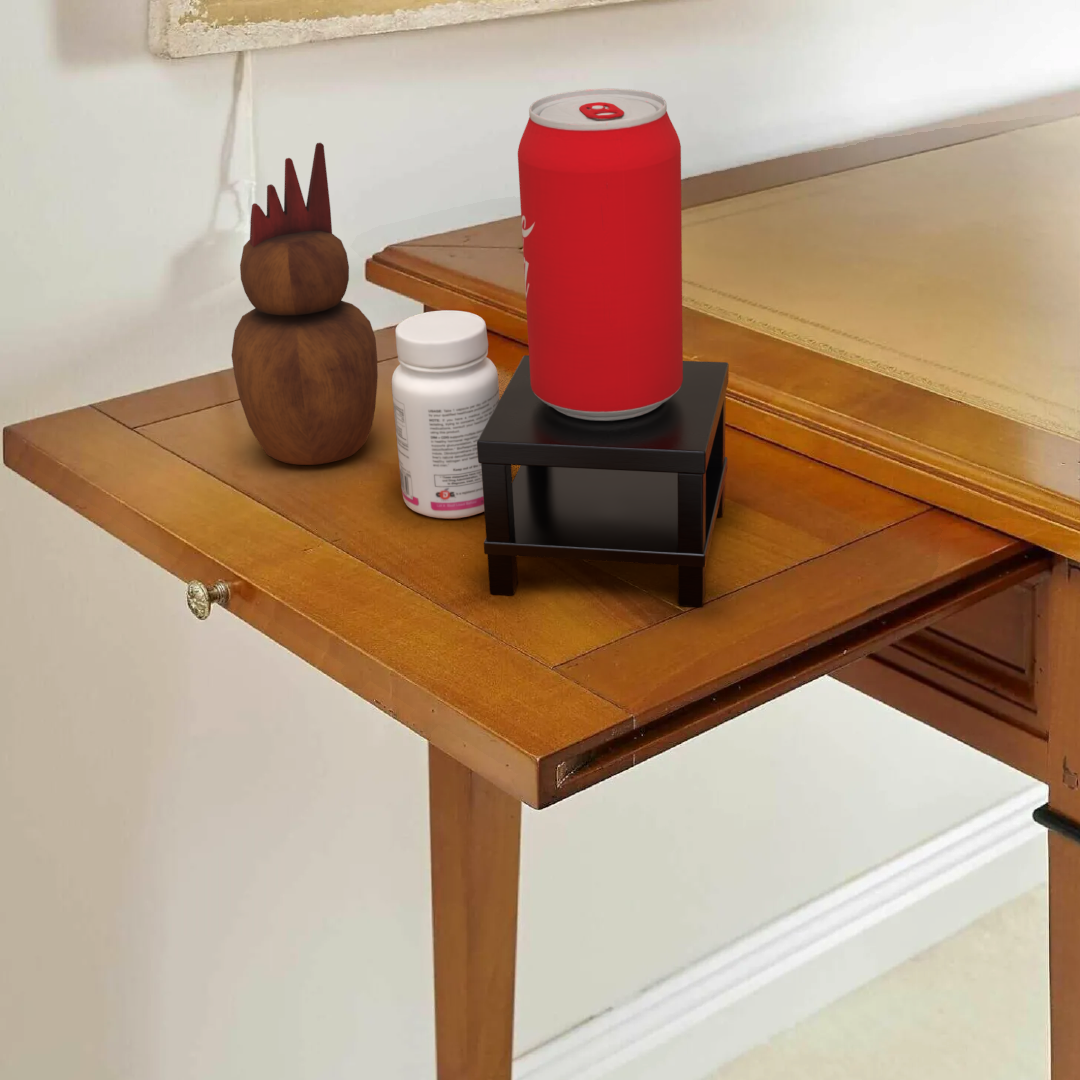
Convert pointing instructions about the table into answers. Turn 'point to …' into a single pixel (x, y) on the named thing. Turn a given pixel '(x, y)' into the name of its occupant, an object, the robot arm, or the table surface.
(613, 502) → the side table
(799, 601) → the table surface
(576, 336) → the beverage can
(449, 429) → the pill bottle
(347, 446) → the wooden figurine
